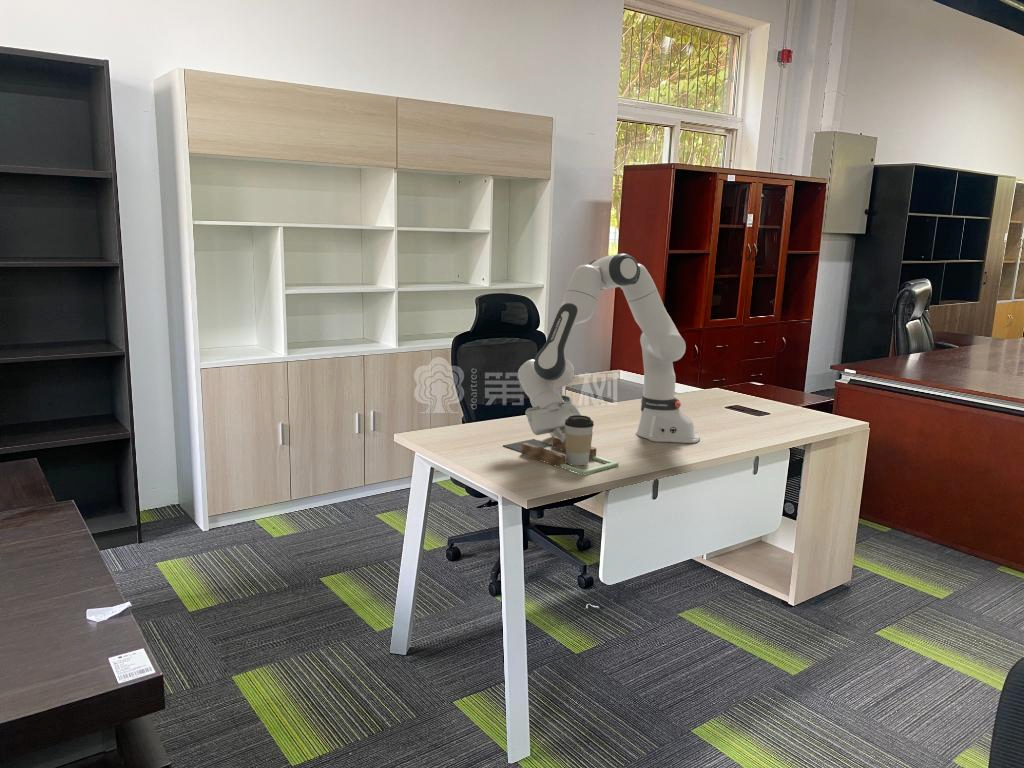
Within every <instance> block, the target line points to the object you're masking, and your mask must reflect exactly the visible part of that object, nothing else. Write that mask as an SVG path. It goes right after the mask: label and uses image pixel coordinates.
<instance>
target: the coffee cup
mask: <svg viewBox="0 0 1024 768" xmlns="http://www.w3.org/2000/svg"><path fill="white" fill-rule="evenodd" d="M565 428H566V431H565V447H566V451H565V456H566V461H565V463H566V464H567V463H569V464H568V465H570V464H572V465H571V466H574V465H584V466H587V465H588V464H589V462H590V459H589V454H590V450H591V447H592V441H593V434H594V433H593V428H594V420H592V419H591V417H590V416H588V415H582V414H581V415H573V416H569V418H568V419H566V420H565ZM586 464H587V465H586Z"/></svg>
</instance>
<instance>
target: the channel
mask: <svg viewBox="0 0 1024 768" xmlns="http://www.w3.org/2000/svg"><path fill="white" fill-rule="evenodd" d="M554 447H555V449H557V448H558V450H560V449H562V450H561V451H563V450H564V451H563V452H566V447H565V442H563V443H562V442H561V440H560V438H558V437H557V436H555V437H552V448H554ZM521 455H523V456H525V457H530V458H532V459H534V458H535V459H534V460H537V459H538V460H537V461H540V460H542V461H541V462H543V461H545V462H544V463H546V462H548V463H547V464H549V463H550V464H549V465H552V464H553V465H552V466H554V465H556V466H555V467H557V466H559V467H558V468H560V467H561V464H566V454H562V453H558V452H556V451H553V450H551V449H547V448H545V447H543V448H541V447H538V446H535V445H532V444H529V443H523V444H522V452H521ZM593 456H597V447H593V446H591V450H590V454H589V460H591V459H593Z"/></svg>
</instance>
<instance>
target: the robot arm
mask: <svg viewBox="0 0 1024 768" xmlns="http://www.w3.org/2000/svg"><path fill="white" fill-rule="evenodd" d="M617 288H620V290H622V292H623V295H624V297H625V299H626V302H627V304H628V307H629V309H630V312H631V314H632V316H633V319H634V321H635V322H636V324H637V325H638V327H639V328H640V330H641V334H640V337H639V338H640V339H639V343H640V346H641V351H642V352H641V354H642V364H643V375H644V376H643V391H642V392H643V395H642V396H641V400H640V411H641V413H640V414H641V415H640V419H639V424H638V426H637V430H636V432H635V433H636V435H637V436H638V437H640V438H645V439H647V440H649V441H651V442H660V443H661V442H664V443H665V442H666V443H687V444H688V443H689V444H695V443H698V442H699V441H700V440H701V438H700V434H699V432H696V431H695V426H694V422H693V420H692V418H691V417H689V416H688V414H686V413H685V412H684V411H682V409H680V407H681V405H682V403H681V401H680V399H679V398H676V397H675V392H676V390H675V389H676V373H675V370H674V363H673V362H677V361H679V360H681V359H682V358H683V356H684V355H685V353H686V349H687V346H686V341H685V339H684V338H683V337H682V335H681V334H680V332H679V330H678V328H677V327H676V324H675V323H674V322H673V320H672V317H671V316H670V315H669V313H668V312H667V309H666V307H665V306H664V303H663V300H662V297H661V295H660V293H659V291H658V289H657V286H656V284H655V282H654V279H653V278H652V276H651V274H650V272H649V271H648V269H647V268H646V267H645V266H644V265H643V264H641V263H638V261H637V260H636V258H634V257H633V256H632V255H631V254H628V253H618V254H611V255H606V256H604V257H601V258H598V259H594V260H592V261H591V262H589V263H588V264H581V265H579V266H577V267H576V268H575V270H574V271H573V273H572V275H571V277H570V279H569V280H568V285H567V286H566V290H565V292H564V296H563V298H562V301H561V306H560V307H559V310H558V312H557V314H556V316H555V317H554V320H553V322H552V326H551V328H550V331H549V332H548V335H547V338H546V341H545V343H544V345H543V346H542V347H541V348H540V350H539V351H538V352H537V354H536V356H535V357H534V359H533V358H532V359H528V360H526V361H525V362H524V363H522V364H521V365H520V367H519V369H518V371H517V376H518V380H519V382H520V385H521V388H522V389H523V392H524V393H525V394H526V395H527V397H528V398H529V401H530V402H529V403H530V404H531V406H532V407H528V408H526V410H525V416H526V418H527V422H528V425H529V427H530V430H531V432H532V433H533V434H534V435H535V436H540V435H547V434H549V433H551V432H553V433H554V435H555V436H557V437H558V438H560V440H561V442H562V443H563V442H565V431H566V428H565V420H566V419H568V418H569V416H573V415H582V414H581V412H580V411H579V409H578V408H577V406H576V405H575V404H574V403H573V398H572V397H571V396H570V395H569V396H568V395H563V394H560V393H557V392H556V390H558V389H561V388H563V387H566V386H567V385H569V384H570V383H572V381H573V380H574V378H575V377H576V376H575V375H576V368H575V366H574V364H573V363H572V362H571V361H570V360H569V359H568V358H567V357H566V354H565V349H566V347H567V344H568V341H569V339H570V336H571V334H572V331H573V329H574V327H575V326H576V325H577V324H583V323H586V322H587V321H589V320H590V319H591V318H592V316H593V314H594V312H595V309H596V306H597V303H598V301H599V297H600V296H599V295H600V293H601V291H603V290H612V289H617ZM560 431H562V433H564V435H563V434H562V433H561V432H560Z"/></svg>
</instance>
